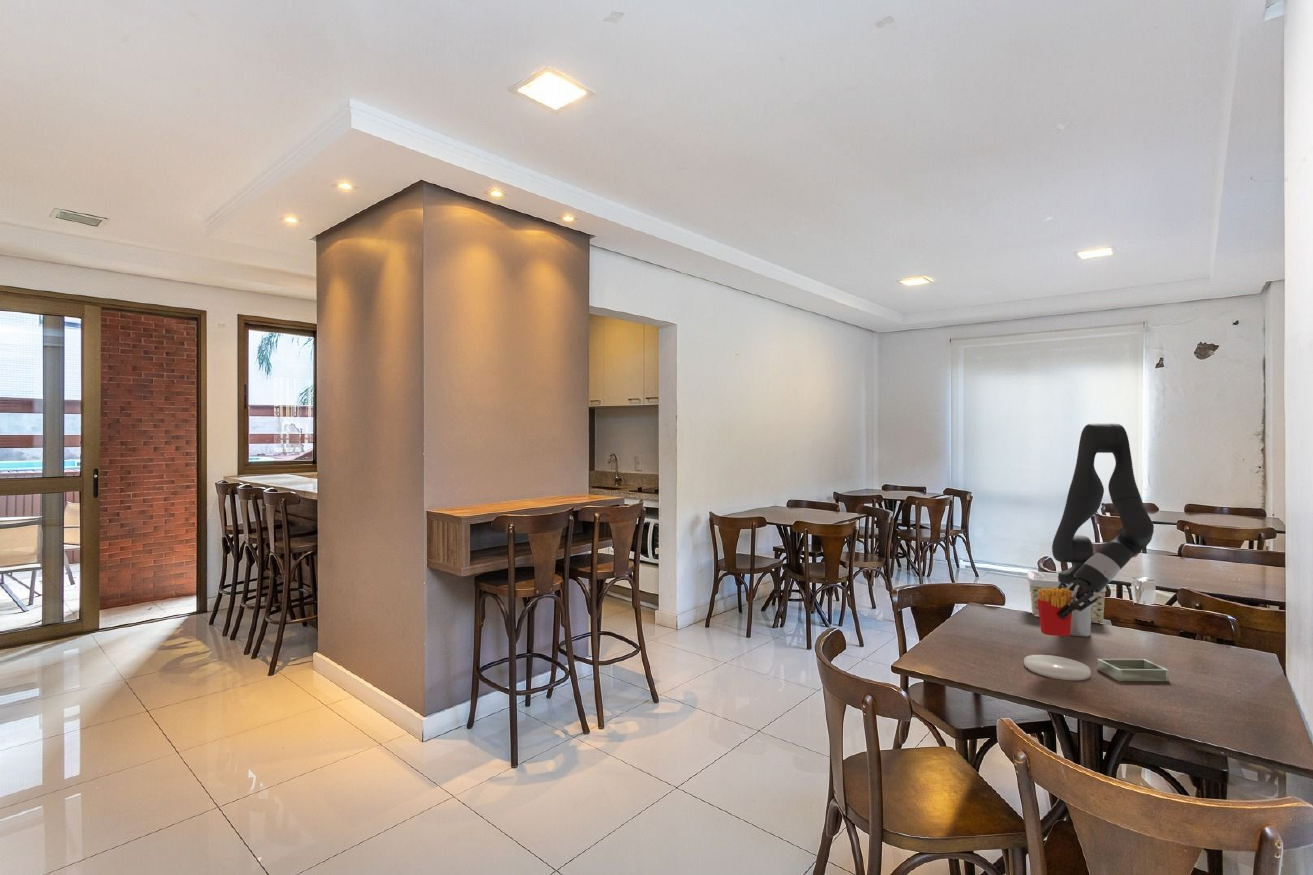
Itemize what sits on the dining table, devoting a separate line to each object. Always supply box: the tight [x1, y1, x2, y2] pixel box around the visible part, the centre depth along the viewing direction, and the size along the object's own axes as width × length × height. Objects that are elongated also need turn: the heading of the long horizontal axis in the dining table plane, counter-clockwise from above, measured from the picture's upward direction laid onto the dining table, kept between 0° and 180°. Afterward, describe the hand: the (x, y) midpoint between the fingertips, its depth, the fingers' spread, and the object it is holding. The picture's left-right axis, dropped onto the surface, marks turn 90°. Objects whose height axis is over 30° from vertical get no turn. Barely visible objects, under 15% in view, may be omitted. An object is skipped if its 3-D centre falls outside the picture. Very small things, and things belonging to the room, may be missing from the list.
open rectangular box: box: [1096, 658, 1170, 682], centre depth 173 cm, size 9×14×3 cm, turn 89°
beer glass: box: [1130, 576, 1157, 605], centre depth 225 cm, size 7×7×15 cm
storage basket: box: [1026, 570, 1107, 624], centre depth 231 cm, size 24×16×15 cm
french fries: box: [1037, 587, 1073, 637], centre depth 178 cm, size 9×4×13 cm, turn 82°
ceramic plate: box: [1023, 654, 1092, 681], centre depth 177 cm, size 16×16×2 cm
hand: (1055, 614), depth 177 cm, fingers closed on french fries, 4 cm apart
